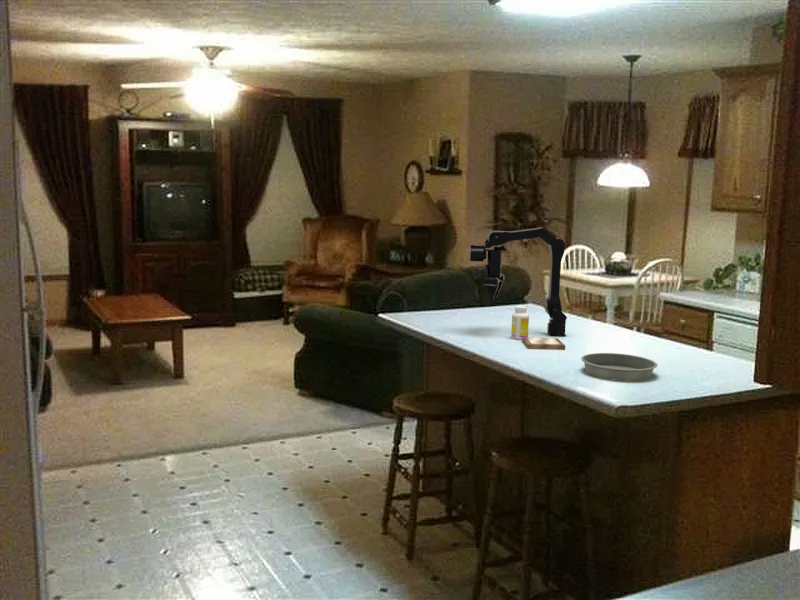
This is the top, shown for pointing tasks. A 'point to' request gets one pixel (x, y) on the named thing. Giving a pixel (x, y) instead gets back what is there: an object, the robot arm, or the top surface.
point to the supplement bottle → (520, 323)
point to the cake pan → (618, 366)
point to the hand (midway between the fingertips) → (492, 299)
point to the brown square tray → (543, 343)
